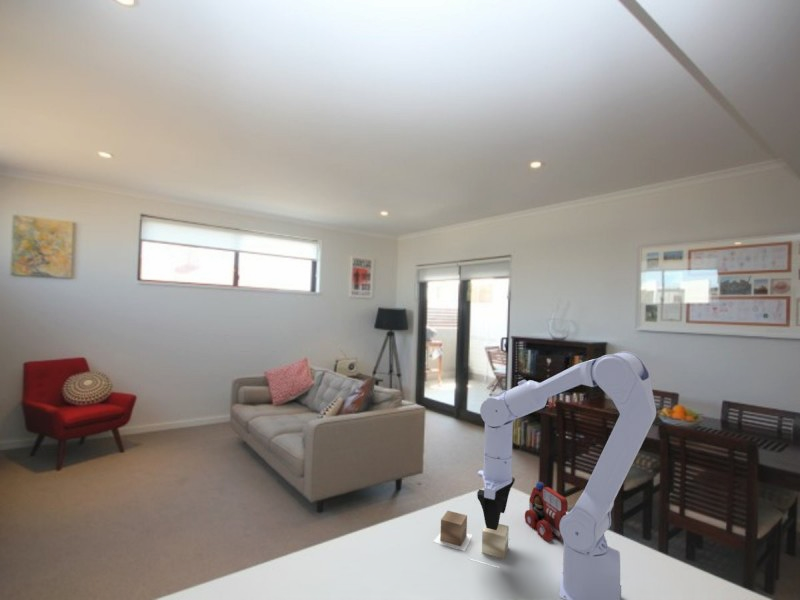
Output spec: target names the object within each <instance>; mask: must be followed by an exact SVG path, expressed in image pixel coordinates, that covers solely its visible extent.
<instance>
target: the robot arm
mask: <svg viewBox="0 0 800 600" xmlns="http://www.w3.org/2000/svg"><path fill="white" fill-rule="evenodd" d="M651 378H652V377H651V372H650V371H649V370H648V368H647V366H646V364H645V363H644V361H643V359H642V358H641V357H640V356H639V355H637V354H635V353H634V352H630V351H621V350H620V351H618V352H615V353H612V354H605V355H602V356H600V357H598V358H593V359H590V360H587V361H583V362H580V363H577V364H575V365H573V366H571V367H569V368H567V369H565V370H563V371H561V372H559V373H556V374H555V375H553V376H551V377H549V378H547V379H545V380H543V381H541V382H538V381H534V380H531V379H529V380H526V379H522V380H520V381H518V382H517V384H518V385H517V386H514V387H512V388H510V389H508V390H506V389H503V390H501V391H499V395H497V396H492V397H488V398H486V400H484V401H483V402H482V403H481V406H480V409H479V412H480V417H481V419H482V420H483V422H484V437H483V438H484V439H483V440H484V441H483V442H484V443H483V470H482V469H481V470H478V471H477V477H478V478H482V481H483V485H484V488H483V489H480V488H479V489H478V491H477V492H476V493H477V494H476V496H477V500H478V502H479V504H480V505H481V508H482V512H483V517H484V523H485V525H486V528H489V529H493V530H497V528H498V524H500V519H501V514H505V512H506V508H507V504H508V499H509V495H510V493H511V489H512V487H513V485H514V483H515V481H516V480H515V478H514V476H512V469H513V468H512V465H513V463H512V462H513V439H514V438H513V437H514V436H513V434H514V433H513V432H514V431H513V430H514V429H513V428H514V422H515V421H516V419H520V418H523V417H525V416H527V415H529V414H531V413H534V412H537V411H538V410H541V409H543V408H545V406H546V404H547V402H548V398H551V397H553V396H556V395H558V394H560V393H563V392H566V391H568V390H571V389H574V388H575V387H579V386H580V385H583V386H587V387H590V388H594V387H596V386H598V387H599V388H600V389H601V390H602V391H603V392H604V394H606V395H607V396H608V397H609V398H610V399H611V400H612V402H613V403H614V405H615V407H616V409H617V411H618V413H619V415H618V418H617V420H616V422H615V424H614V426H613V429H612V431H611V433H610V435H609V436H608V439H607V441H606V444H605V446H604V447H603V450H602V452H601V454H600V456H599V458H598V460H597V462H596V465H595V466H594V468H593V471H592V473H591V475H590V477H589V479H588V482H587V484H586V485H585V488H584V489H583V492H582V493H581V495H580V496H579V498H578V499H577V500H576V502H575V504H574V506H573V507H572V509H571V510H569V511H568V513H567V512H566V515H564V516H563V517H562V519H561V521H560V524H559V528H560V533H561V536H562V538H561V539H563V554H562V556H563V557H562V558H563V559H562V561H563V562H562V571H561V574H560V583H559V590H558V591H559V593H558V598H560V599H562V600H621V598H622V584H621V553H620V551H619V550H617V549H615V548H612V547H610V546H608V545H609V544H608V543H607V542H608V541H607V539H606V536H605V533H606V532H607V531H609V529H610V527H611V525H612V516H611V515H612V514H611V512H612V509H613V507H614V503H615V500H616V498H617V495H618V494H619V491H620V489H621V487H622V485H623V484H624V481H625V479H626V477H627V475H628V473H629V471H630V469H631V467H632V466H633V463H634V462H635V459H636V457H637V455H638V453H639V451H640V449H641V448H642V445H643V443H644V441H645V439H646V437H647V435H648V433H649V431H650V429H651V427H652V425H653V423H654V421H655V420H656V417H657V407H656V404H655V403H656V402H655V399H654V392H653V387H652V382H651V380H652V379H651Z"/></svg>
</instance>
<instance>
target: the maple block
mask: <svg viewBox="0 0 800 600" xmlns="http://www.w3.org/2000/svg"><path fill="white" fill-rule="evenodd" d="M509 527H510V526H509V525H505V524H501V523H499V524H498V528H497V530H493V529H489V528H486V524H485V525H484V527H483V529H482V533H481V534H482V535H481V536H482V537H481V538H482V539H481V553H482V554H484V555H485V554H486V555H489V556H492V557H496V558H498V559H499V558H500V559H503V560H504V559H505V557H506V554H507V552H508V549H509V539H508V538H509V535H510V534H509V529H510V528H509Z"/></svg>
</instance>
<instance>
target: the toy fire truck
mask: <svg viewBox="0 0 800 600" xmlns="http://www.w3.org/2000/svg"><path fill="white" fill-rule="evenodd" d="M528 500H529V501H528V502H529V503H528V504H529V506H528V507H529V508H528V509H527V510H526V511H525V513H524V519H525V523H526V524H527V525H528V526H529V528H531V529H536V532H537V535H538V536H539V537H540V538H541V539H542V540H544V541H546V542H549V541H551V540H552V539H553V537H554V536H555V537H557V538H559V539H563V538H562V536H561V533H560V528H559V524H560V521H561V519H562V517H563V516H564V515H566V514H567V512H568V510H569V508H568V500H567V498H566V497H564V496H563V495H561V494H559V492H557V491H555V490H554V489H552V488H550V487H549V486H546V485H545V483H544V482H542V481H538V482H537V483H536V485H535V486H534V487H533V489H532V491H531V493H530V496H529V499H528Z"/></svg>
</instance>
